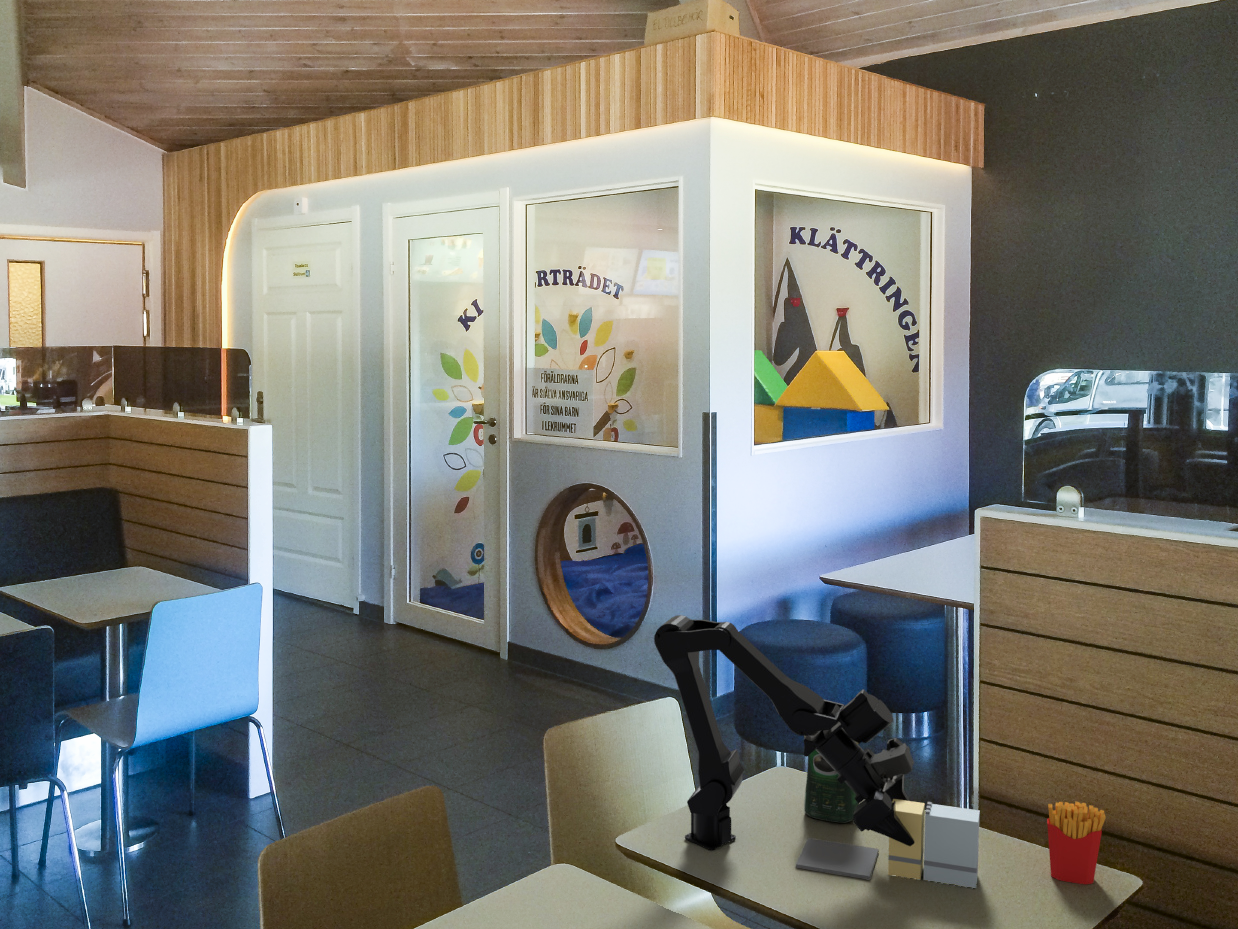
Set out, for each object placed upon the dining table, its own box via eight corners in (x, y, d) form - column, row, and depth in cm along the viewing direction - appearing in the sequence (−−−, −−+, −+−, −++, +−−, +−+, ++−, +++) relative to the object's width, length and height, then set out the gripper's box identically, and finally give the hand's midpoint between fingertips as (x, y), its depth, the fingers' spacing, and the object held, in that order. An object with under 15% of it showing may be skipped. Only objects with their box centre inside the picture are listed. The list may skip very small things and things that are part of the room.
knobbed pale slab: (923, 880, 177) (925, 812, 176) (926, 867, 181) (927, 801, 180) (976, 889, 174) (978, 820, 173) (977, 875, 178) (979, 808, 177)
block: (888, 875, 179) (889, 810, 178) (891, 862, 183) (893, 798, 182) (920, 880, 177) (922, 814, 176) (923, 867, 181) (924, 803, 180)
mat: (795, 867, 182) (795, 864, 181) (807, 841, 191) (807, 837, 191) (870, 880, 177) (870, 876, 177) (878, 852, 187) (878, 848, 186)
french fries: (1045, 878, 177) (1048, 806, 176) (1045, 867, 181) (1048, 797, 179) (1102, 887, 174) (1106, 815, 173) (1101, 876, 178) (1105, 804, 176)
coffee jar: (863, 810, 203) (865, 712, 200) (851, 828, 196) (853, 727, 193) (811, 801, 207) (813, 705, 205) (798, 817, 200) (799, 718, 198)
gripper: (875, 750, 170) (948, 829, 167) (891, 710, 187) (957, 782, 185) (823, 792, 174) (894, 870, 171) (843, 749, 191) (907, 820, 188)
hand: (915, 833), depth 179 cm, fingers open, 8 cm apart
